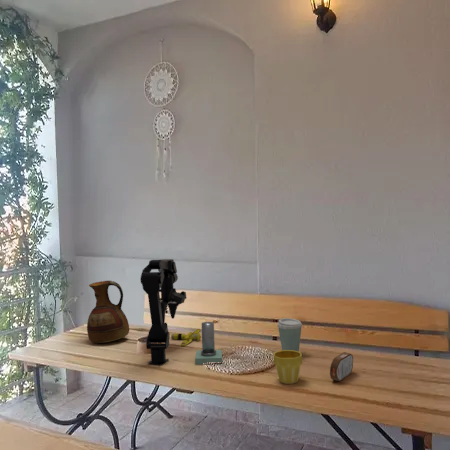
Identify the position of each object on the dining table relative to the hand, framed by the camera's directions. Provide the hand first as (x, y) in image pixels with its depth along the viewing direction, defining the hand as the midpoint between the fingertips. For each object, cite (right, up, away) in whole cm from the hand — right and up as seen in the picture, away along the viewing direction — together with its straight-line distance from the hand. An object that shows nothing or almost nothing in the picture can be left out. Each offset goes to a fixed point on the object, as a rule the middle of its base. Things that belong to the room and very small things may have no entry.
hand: (168, 320), depth 203 cm
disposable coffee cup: (+54, -12, -14) cm, 57 cm away
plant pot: (+49, -13, -43) cm, 66 cm away
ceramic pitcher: (-32, -14, +17) cm, 39 cm away
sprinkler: (+7, -13, +13) cm, 20 cm away
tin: (+69, -12, -41) cm, 81 cm away
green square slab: (+19, -13, -17) cm, 29 cm away
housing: (+19, -10, -17) cm, 28 cm away
